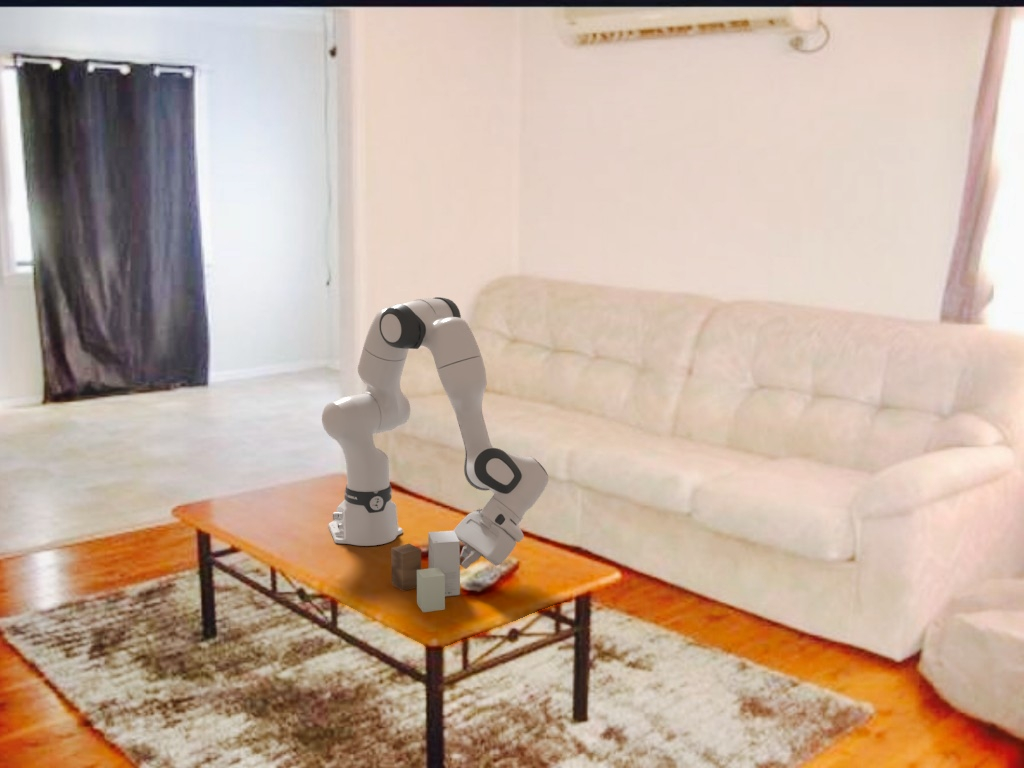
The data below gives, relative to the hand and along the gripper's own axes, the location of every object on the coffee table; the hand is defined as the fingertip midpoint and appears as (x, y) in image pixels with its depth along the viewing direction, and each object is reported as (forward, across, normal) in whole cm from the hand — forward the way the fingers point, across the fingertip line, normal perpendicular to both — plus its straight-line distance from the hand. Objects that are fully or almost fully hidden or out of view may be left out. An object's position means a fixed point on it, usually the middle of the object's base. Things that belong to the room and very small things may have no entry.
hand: (460, 565), depth 240 cm
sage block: (+11, +7, -4) cm, 14 cm away
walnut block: (+11, -7, -4) cm, 14 cm away
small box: (+7, 0, +1) cm, 7 cm away
